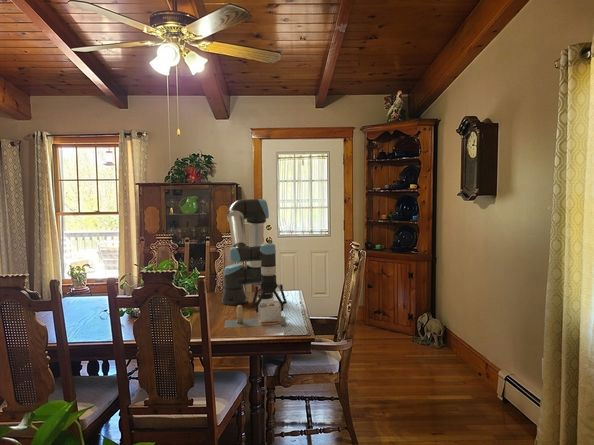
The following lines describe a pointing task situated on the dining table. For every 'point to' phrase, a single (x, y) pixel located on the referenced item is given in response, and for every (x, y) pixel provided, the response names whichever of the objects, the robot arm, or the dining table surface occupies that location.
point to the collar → (269, 312)
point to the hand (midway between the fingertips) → (269, 318)
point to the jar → (266, 298)
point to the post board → (250, 320)
